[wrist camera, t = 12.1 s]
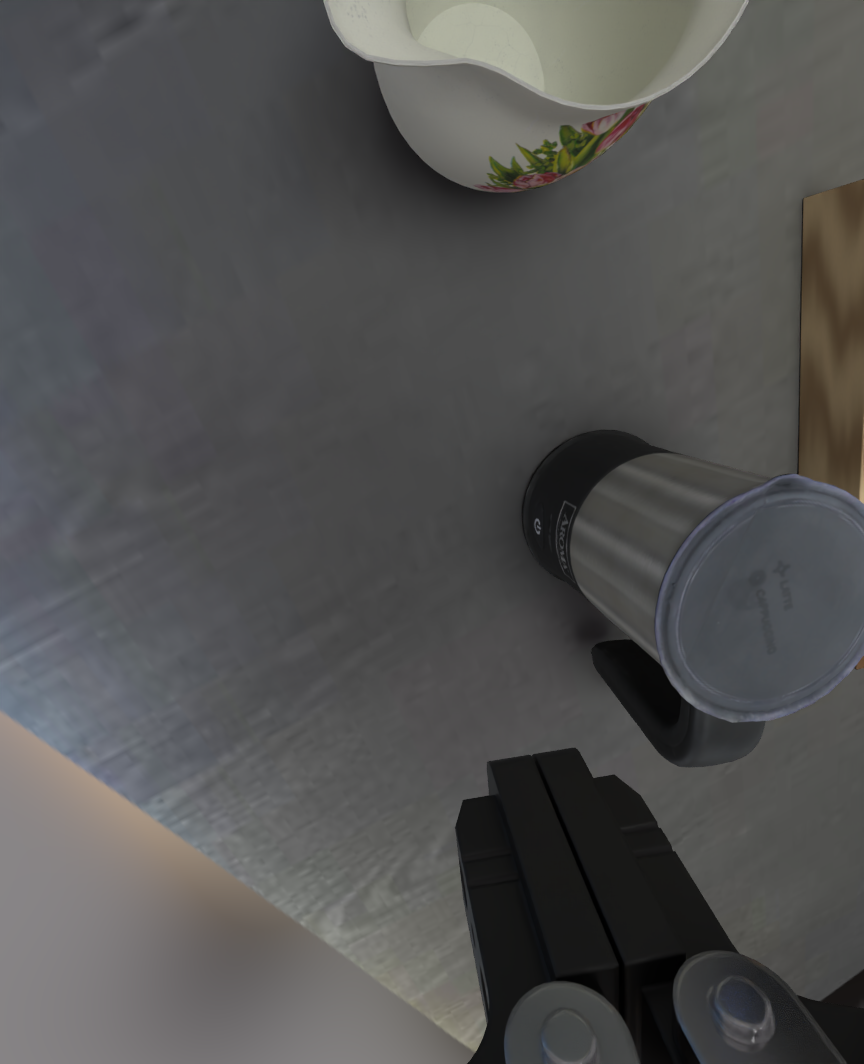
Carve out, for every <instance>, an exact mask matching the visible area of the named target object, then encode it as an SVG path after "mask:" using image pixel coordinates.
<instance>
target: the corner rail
mask: <svg viewBox="0 0 864 1064" xmlns="http://www.w3.org/2000/svg"><path fill="white" fill-rule="evenodd" d="M799 475H800V476H804V477H808V478H810V479H812V480H814V481H819V482H823V483H827V484H831V485H835V486H837V487H838V488H840V489H843V490H845V491H847V492H849V493H850V494H852V495H853V496H855V497H856V498H857V499H858V500H860V501H861V502H862V503H863V504H864V179H862V180H859V181H856V182H853V183H850V184H846V185H843V186H840V187H837V188H834V189H831V190H828V191H825V192H821V193H818V194H815V195H812V196H809V197H806V198H804V199H803V250H802V307H801V363H800V420H799ZM854 668H855V669H857V670H858V669H862V668H864V656H863V657H862V658H861V660H860V661H859V662H858V664H857V665H856V666H855V667H854Z"/></svg>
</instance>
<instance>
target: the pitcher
mask: <svg viewBox="0 0 864 1064" xmlns="http://www.w3.org/2000/svg"><path fill="white" fill-rule="evenodd" d="M323 2H324V5H325V8H326V11H327V14H328V17H329V20H330V23H331V26H332V28H333V29H334V31H335V32H336V34H337V35H338V37H339V38H340V40H341V41H342V43H343V44H344V46H345V47H346V48H348V49H349V50H351V51H352V52H354V53H355V54H357V55H359V56H360V57H362V58H363V59H365V60H366V61H371V62H373V63H374V68H375V72H376V76H377V79H378V83H379V86H380V90H381V92H382V95H383V98H384V100H385V103H386V105H387V108H388V110H389V112H390V115H391V117H392V119H393V121H394V122H395V124H396V126H397V128H398V130H399V131H400V133H401V134H402V136H403V137H404V139H405V140H406V141H407V143H408V144H409V146H410V147H411V148H412V149H413V150H414V151H415V152H416V154H417V155H418V156H419V157H420V158H421V159H422V160H423V161H424V162H425V163H426V164H428V165H429V166H430V167H431V168H432V169H434V170H435V171H436V172H438V173H439V174H441V175H443V176H444V177H446V178H447V179H449V180H451V181H454V182H456V183H458V184H460V185H462V186H465V187H469V188H472V189H475V190H480V191H487V192H498V193H501V192H519V191H525V190H531V189H535V188H539V187H542V186H545V185H548V184H551V183H554V182H556V181H558V180H560V179H562V178H564V177H566V176H568V175H571V174H573V173H575V172H577V171H579V170H580V169H582V168H583V167H585V166H586V165H587V164H589V163H590V162H592V161H593V160H595V159H596V158H598V157H599V156H601V155H602V154H603V153H605V152H606V151H607V150H608V149H609V148H610V147H611V146H612V145H614V144H615V143H616V142H617V141H618V140H619V139H620V138H621V137H622V136H623V135H624V134H625V133H626V132H627V131H628V130H629V129H630V128H631V127H632V126H633V124H634V123H635V122H636V121H637V120H638V119H639V117H640V116H641V115H642V114H643V112H644V111H645V110H646V108H647V107H648V106H649V104H650V103H651V101H652V100H653V99H655V98H657V97H659V96H661V95H663V94H665V93H667V92H669V91H670V90H672V89H673V88H675V87H676V86H678V85H679V84H681V83H682V82H683V81H685V80H686V79H688V78H689V77H690V76H692V75H693V74H694V73H695V72H696V71H697V70H698V69H699V68H700V67H701V66H703V65H704V64H705V63H706V62H707V61H708V60H709V59H710V58H711V56H712V55H713V54H714V53H715V52H716V51H717V49H718V48H719V47H720V46H721V45H722V44H723V42H724V41H725V40H726V38H727V37H728V35H729V34H730V32H731V31H732V29H733V28H734V26H735V25H736V23H737V22H738V20H739V19H740V17H741V15H742V13H743V11H744V9H745V7H746V6H747V4H748V2H749V0H324V1H323Z"/></svg>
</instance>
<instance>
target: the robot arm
mask: <svg viewBox="0 0 864 1064" xmlns="http://www.w3.org/2000/svg"><path fill="white" fill-rule="evenodd" d="M487 775H488V787H489V796H484V797H478V798H472V799H466V800H463V802H462V806H461V809H460V813H459V816H458V820H457V823H456V827H455V829H456V838H457V847H458V856H459V865H460V874H461V883H462V892H463V900H464V905H465V911H466V916H467V921H468V927H469V931H470V937H471V942H472V948H473V953H474V958H475V963H476V969H477V974H478V980H479V985H480V990H481V995H482V1001H483V1006H484V1011H485V1017H486V1022H487V1027H486V1030H485V1034H484V1037H483V1039H482V1041H481V1043H480V1045H479V1048H478V1050H477V1051H476V1053H475V1054H474V1056H473V1057H472V1059H471V1060H470V1061H469V1062H468V1063H467V1064H864V1009H863V1008H857V1007H850V1006H844V1005H838V1004H831V1003H825V1002H820V1001H815V1000H811V999H807V998H804V997H801V996H798V995H796V994H795V993H794V992H793V990H792V989H791V988H790V987H789V986H788V984H787V983H785V982H784V981H783V980H782V979H781V978H780V977H779V976H778V975H777V974H776V973H774V972H773V971H772V970H770V969H769V968H768V967H766V966H764V965H763V964H761V963H759V962H758V961H756V960H754V959H751V958H749V957H747V956H745V955H741V954H739V953H738V951H737V950H736V948H735V947H734V945H733V944H732V943H731V941H730V939H729V938H728V936H727V935H726V933H725V931H724V930H723V928H722V927H721V925H720V923H719V922H718V920H717V918H716V917H715V915H714V914H713V912H712V910H711V909H710V907H709V905H708V904H707V902H706V901H705V899H704V897H703V896H702V894H701V892H700V891H699V889H698V888H697V886H696V884H695V883H694V881H693V880H692V878H691V876H690V875H689V873H688V871H687V870H686V868H685V867H684V865H683V863H682V862H681V860H680V858H679V857H678V855H677V854H676V852H675V851H673V850H672V847H671V844H670V842H669V841H668V839H667V837H666V836H665V834H664V833H663V831H662V829H661V828H659V827H658V825H657V821H656V820H655V818H654V816H653V815H652V813H651V812H650V810H649V808H648V807H647V805H646V803H645V802H644V800H643V799H642V797H641V795H639V794H638V793H637V792H636V791H634V790H633V789H632V788H631V787H629V786H628V785H627V784H625V783H624V782H623V781H622V780H620V779H619V778H618V777H617V776H615V775H609V776H603V777H597V778H593V777H592V775H591V773H590V771H589V769H588V767H587V765H586V763H585V762H584V760H583V758H582V756H581V754H580V752H579V751H578V750H577V749H576V748H569V749H563V750H557V751H550V752H544V753H538V754H533V755H532V756H531V755H525V756H519V757H513V758H507V759H501V760H495V761H489V762H487Z"/></svg>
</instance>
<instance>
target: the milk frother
mask: <svg viewBox="0 0 864 1064" xmlns="http://www.w3.org/2000/svg"><path fill="white" fill-rule="evenodd" d="M523 526H524V533H525V537H526V540H527V543H528V546H529V548H530V549H531V552H532V554H533V556H534V557H535V558H536V560H537V561H538V562H539V564H540V565H541V566H542V567H543V568H544V569H545V570H547V571H548V572H549V573H550V574H552V575H553V576H555V577H556V578H558V579H561V580H563V581H565V582H567V583H568V584H569V585H571V586H572V587H573V588H575V589H576V590H577V591H579V592H580V593H581V594H582V595H583V596H585V597H586V598H587V599H588V600H589V601H590V602H591V603H592V604H593V605H594V606H595V607H596V608H597V609H598V610H599V611H600V612H602V613H603V614H604V615H605V616H606V617H607V618H608V619H609V620H610V621H612V622H613V623H614V624H615V625H616V626H617V627H618V628H620V629H621V630H622V631H623V632H624V633H625V634H626V635H628V636H629V637H630V638H631V639H632V640H613V641H606V642H601V643H598V644H596V645H595V646H594V647H593V648H592V651H591V654H592V659H593V664H594V666H595V668H596V670H597V671H598V673H599V674H600V675H601V677H602V678H603V679H604V681H605V682H606V683H607V685H608V686H609V687H610V689H611V690H612V691H613V693H614V694H615V695H616V697H617V698H618V699H619V701H620V702H621V704H622V705H623V706H624V708H625V709H626V710H627V712H628V713H629V714H630V716H631V717H632V718H633V720H634V721H635V722H636V723H637V725H638V726H639V727H640V729H641V730H642V731H643V733H644V734H645V736H646V737H647V738H648V740H649V741H650V742H651V743H652V745H653V746H654V747H655V749H656V750H657V751H658V752H659V753H660V754H661V755H662V756H663V757H664V758H665V759H667V760H668V761H670V762H671V763H673V764H675V765H677V766H679V767H705V766H713V765H718V764H723V763H727V762H732V761H734V760H737V759H740V758H742V757H744V756H746V755H747V754H749V753H750V752H751V751H752V750H753V749H754V748H755V747H756V745H757V744H758V742H759V740H760V739H761V736H762V733H763V730H764V726H765V721H767V720H773V719H776V718H780V717H783V716H786V715H788V714H791V713H795V712H796V711H798V710H800V709H802V708H804V707H807V706H809V705H811V704H813V703H815V702H816V701H817V700H818V699H820V698H821V697H823V696H824V695H826V694H828V693H829V692H830V691H831V690H832V689H833V688H834V687H835V686H836V685H837V684H838V683H839V682H840V681H841V680H842V679H843V678H844V677H846V676H847V675H848V674H849V673H850V672H851V670H852V669H853V668H854V667H855V666H856V665H857V664H858V662H859V661H860V660H861V658H862V657H863V656H864V504H863V503H862V502H861V501H860V500H858V499H857V498H856V497H855V496H853V495H852V494H850V493H849V492H847V491H845V490H843V489H840V488H838V487H837V486H835V485H831V484H827V483H823V482H819V481H814V480H812V479H810V478H808V477H804V476H800V475H797V474H785V475H780V476H777V477H774V478H770V477H766V476H762V475H758V474H755V473H751V472H747V471H743V470H739V469H736V468H732V467H728V466H724V465H720V464H717V463H713V462H709V461H705V460H701V459H698V458H694V457H689V456H686V455H682V454H679V453H674V452H670V451H667V450H664V449H661V448H658V447H654V446H651V445H650V444H648V443H646V442H645V441H643V440H642V439H640V438H638V437H636V436H634V435H631V434H629V433H626V432H621V431H616V430H600V431H593V432H590V433H585V434H583V435H579V436H577V437H575V438H573V439H571V440H568V441H567V442H566V443H564V444H562V445H561V446H559V447H558V448H557V449H556V450H554V451H553V452H552V453H551V454H550V455H549V456H548V457H547V458H546V459H545V460H544V461H543V463H542V464H541V465H540V466H539V468H538V469H537V471H536V473H535V474H534V476H533V478H532V480H531V482H530V485H529V488H528V490H527V493H526V496H525V501H524V507H523Z"/></svg>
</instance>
